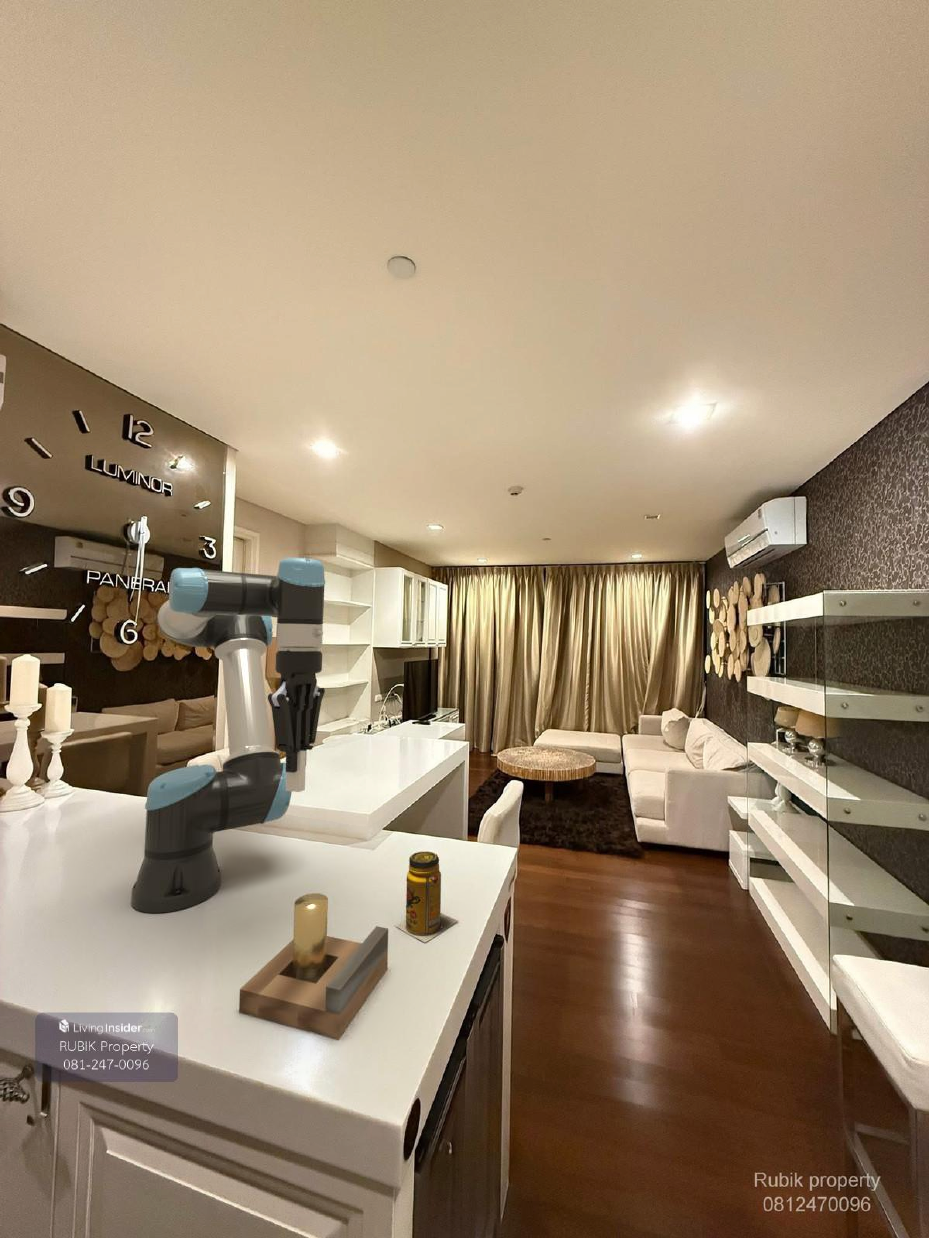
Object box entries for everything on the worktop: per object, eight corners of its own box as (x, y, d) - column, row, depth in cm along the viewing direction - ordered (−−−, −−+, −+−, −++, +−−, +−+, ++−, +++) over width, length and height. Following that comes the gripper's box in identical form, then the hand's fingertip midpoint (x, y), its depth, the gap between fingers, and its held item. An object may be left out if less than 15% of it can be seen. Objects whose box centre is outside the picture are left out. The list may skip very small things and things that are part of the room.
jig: (239, 1012, 66) (240, 965, 66) (301, 949, 80) (302, 911, 80) (338, 1039, 62) (340, 989, 62) (387, 968, 75) (388, 928, 76)
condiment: (395, 927, 86) (396, 856, 87) (429, 907, 93) (430, 842, 93) (424, 944, 82) (426, 869, 82) (458, 922, 88) (459, 853, 89)
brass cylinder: (285, 994, 70) (287, 906, 70) (304, 973, 74) (306, 891, 75) (313, 1001, 68) (316, 912, 69) (331, 979, 73) (334, 896, 73)
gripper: (295, 650, 77) (290, 804, 76) (339, 649, 90) (335, 781, 89) (254, 649, 79) (249, 799, 78) (303, 648, 92) (299, 777, 91)
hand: (295, 789), depth 84 cm, fingers closed
